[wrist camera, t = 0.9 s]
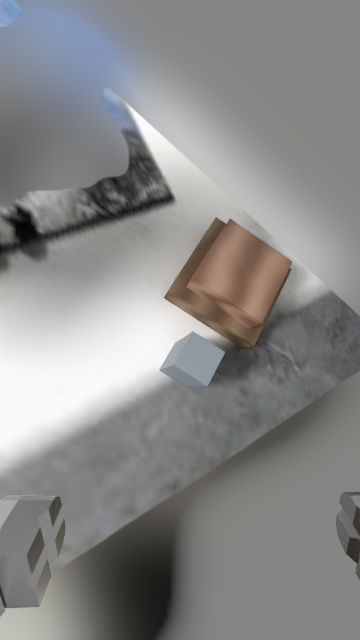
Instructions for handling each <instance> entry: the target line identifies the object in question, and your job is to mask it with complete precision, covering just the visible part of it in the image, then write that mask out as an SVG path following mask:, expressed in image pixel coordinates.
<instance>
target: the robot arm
mask: <svg viewBox="0 0 360 640" xmlns="http://www.w3.org/2000/svg"><path fill="white" fill-rule="evenodd" d="M340 504H341V506H342V507H343V509H342V510H341V511H340V512H339V513H338V514H337V519H336V527H337V533H338V537H339V540H340V542H341V545H342V547H343V549H344V551H345V553H346V554H347V555H348V556H349V557H350V558H351V559H352V560H353V561H355V562H356V563H357V565H356V574H357V576H358V578H359V580H360V492H344V493H343V494H342V495H341V497H340ZM61 507H62V503H61V499H60V497H58V496H5V497H4V498H3V499H1V500H0V616H1V615H2V614H3V613H4V612H5V608H21V607H22V608H23V607H39V606H40V604H41V601H42V599H43V596H44V593H45V590H46V588H47V585H48V583H49V580H50V578H51V573H50V568H49V566H50V565H51V564H52V563H53V562H54V561H55V560H56V559H57V558H58V556H59V554H60V551H61V548H62V545H63V540H64V535H65V519H64V517H63V516H62V515H61V514H60V513H59V511H60V509H61Z"/></svg>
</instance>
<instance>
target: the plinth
mask: <svg viewBox="0 0 360 640" xmlns="http://www.w3.org/2000/svg"><path fill="white" fill-rule="evenodd" d="M291 263H292V261H290V260H289V259H287V258H286V257H285V256H283V255H282V254H280V253H279V252H277V251H276V250H274V249H273V248H272V247H270V246H269V245H267V244H266V243H264V242H263V241H262V240H260V239H259V238H257V237H256V236H254V235H253V234H252V233H250V232H249V231H247V230H246V229H244V228H243V227H241V226H240V225H239V224H237V223H236V222H234V221H233V220H231V219H230V220H229V221H228V223H227V224H225V223H224V222H222V221H221V220H219V219H218V218H217V217H216V218H215V220H214V221H213V223H212V224H211V226H210V227H209V229H208V230H207V232H206V234H205V235H204V237H203V238H202V240H201V241H200V243H199V244H198V246H197V247H196V249H195V250H194V252H193V254H192V255H191V257H190V258H189V260H188V261H187V263H186V264H185V266H184V267H183V269H182V270H181V272H180V273H179V275H178V277H177V278H176V280H175V281H174V283H173V284H172V286H171V287H170V289H169V290H168V292H167V294H166V295H165V297H164V298H165V299H167V300H168V301H170V302H171V303H173V304H174V305H176V306H177V307H179V308H180V309H182V310H183V311H185V312H187V313H188V314H190V315H191V316H193V317H194V318H196V319H197V320H199V321H200V322H202V323H203V324H205V325H206V326H208V327H210V328H211V329H213V330H214V331H216V332H217V333H219V334H220V335H222V336H223V337H225V338H226V339H228V340H230V341H231V342H233V343H234V344H236V345H237V346H239V347H240V348H242V349H245V348H249V347H252V346H255V344H256V342H257V339H258V337H259V335H260V333H261V331H262V329H263V327H264V325H265V323H266V321H267V319H268V317H269V315H270V313H271V311H272V308H273V306H274V304H275V302H276V300H277V298H278V296H279V294H280V292H281V290H282V288H283V286H284V284H285V282H286V280H287V277H288V275H289V273H290V271H291V269H290V268H289V267H290V265H291Z"/></svg>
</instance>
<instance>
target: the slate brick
mask: <svg viewBox="0 0 360 640" xmlns="http://www.w3.org/2000/svg"><path fill="white" fill-rule="evenodd" d="M224 354H225V352H224V351H223V350H221V349H220V348H218V347H216V346H215V345H213V344H212V343H210V342H209V341H207V340H206V339H204V338H203V337H201V336H199V335H198V334H196V333H195V332H191V333H190V334H188V335H187V336H185V337H184V338H182V339H181V340H179V341H178V342H176V343H175V344H174V346H173V348H172V349H171V351H170V353H169V355H168V356H167V358H166V360H165V361H164V363H163V365H162V366H161V368H160V371H161V372H163V373H165V374H166V375H168V376H169V377H171V378H173V379H174V380H176V381H177V382H179V383H181V384H182V385H184V386H185V387H202V386H208V385H209V383H210V381H211V379H212V377H213V375H214V373H215V371H216V369H217V367H218V365H219V363H220V361H221V359H222V358H223V356H224Z"/></svg>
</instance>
